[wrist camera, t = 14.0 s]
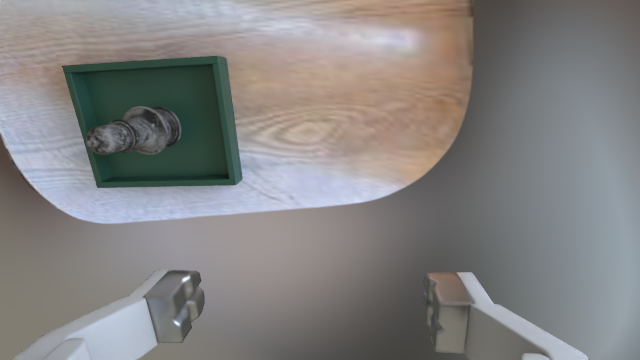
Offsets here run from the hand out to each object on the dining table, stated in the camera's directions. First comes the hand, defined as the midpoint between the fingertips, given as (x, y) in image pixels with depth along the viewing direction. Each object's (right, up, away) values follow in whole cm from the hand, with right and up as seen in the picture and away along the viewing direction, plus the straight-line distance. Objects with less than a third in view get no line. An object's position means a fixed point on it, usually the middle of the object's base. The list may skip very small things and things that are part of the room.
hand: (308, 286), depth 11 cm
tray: (-20, +11, +29) cm, 37 cm away
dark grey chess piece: (-20, +11, +29) cm, 37 cm away
